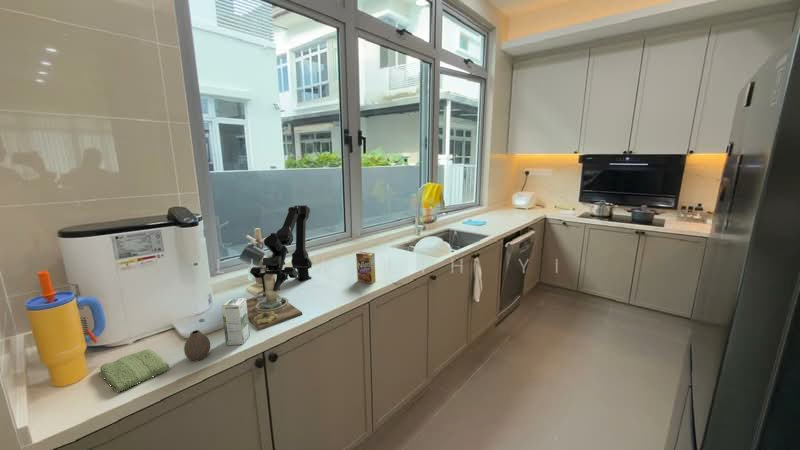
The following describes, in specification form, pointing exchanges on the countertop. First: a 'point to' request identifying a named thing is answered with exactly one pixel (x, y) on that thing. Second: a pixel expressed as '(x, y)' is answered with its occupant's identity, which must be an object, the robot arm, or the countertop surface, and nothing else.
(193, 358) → the vase
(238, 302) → the syrup box
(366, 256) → the candy box
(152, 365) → the washcloth
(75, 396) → the countertop surface
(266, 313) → the gear board
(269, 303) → the gear
